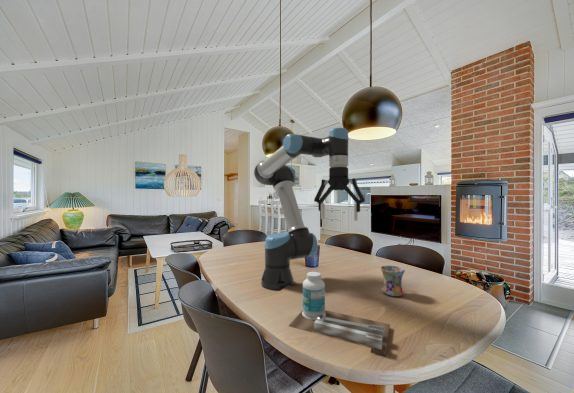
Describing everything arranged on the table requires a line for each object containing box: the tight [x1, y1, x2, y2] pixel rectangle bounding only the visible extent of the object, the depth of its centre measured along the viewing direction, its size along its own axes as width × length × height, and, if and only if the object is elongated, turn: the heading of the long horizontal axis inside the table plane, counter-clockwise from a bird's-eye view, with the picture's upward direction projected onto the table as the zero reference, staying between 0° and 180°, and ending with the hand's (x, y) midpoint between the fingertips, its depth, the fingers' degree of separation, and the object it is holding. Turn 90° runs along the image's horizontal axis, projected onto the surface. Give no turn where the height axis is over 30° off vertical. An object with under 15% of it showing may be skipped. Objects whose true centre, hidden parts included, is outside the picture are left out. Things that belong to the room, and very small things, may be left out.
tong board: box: [288, 309, 391, 357], centre depth 75 cm, size 28×15×4 cm, turn 63°
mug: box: [380, 265, 405, 297], centre depth 104 cm, size 12×9×11 cm
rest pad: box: [301, 310, 326, 320], centre depth 82 cm, size 8×8×1 cm
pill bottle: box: [302, 271, 326, 318], centre depth 82 cm, size 8×7×14 cm
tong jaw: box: [317, 315, 383, 336], centre depth 72 cm, size 19×3×3 cm, turn 68°
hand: (338, 219), depth 98 cm, fingers open, 13 cm apart
